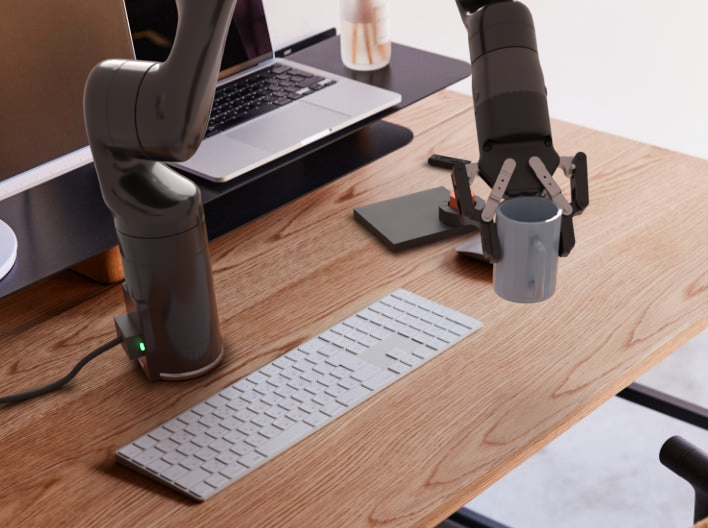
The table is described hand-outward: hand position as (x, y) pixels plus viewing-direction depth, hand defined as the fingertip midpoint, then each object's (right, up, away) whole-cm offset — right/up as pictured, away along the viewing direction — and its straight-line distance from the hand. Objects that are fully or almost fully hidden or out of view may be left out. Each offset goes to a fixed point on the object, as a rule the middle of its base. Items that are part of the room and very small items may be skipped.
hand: (529, 257), depth 108 cm
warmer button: (-3, +11, +33) cm, 35 cm away
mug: (0, -3, +3) cm, 4 cm away
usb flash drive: (-2, +20, +50) cm, 54 cm away
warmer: (-9, +10, +36) cm, 38 cm away
